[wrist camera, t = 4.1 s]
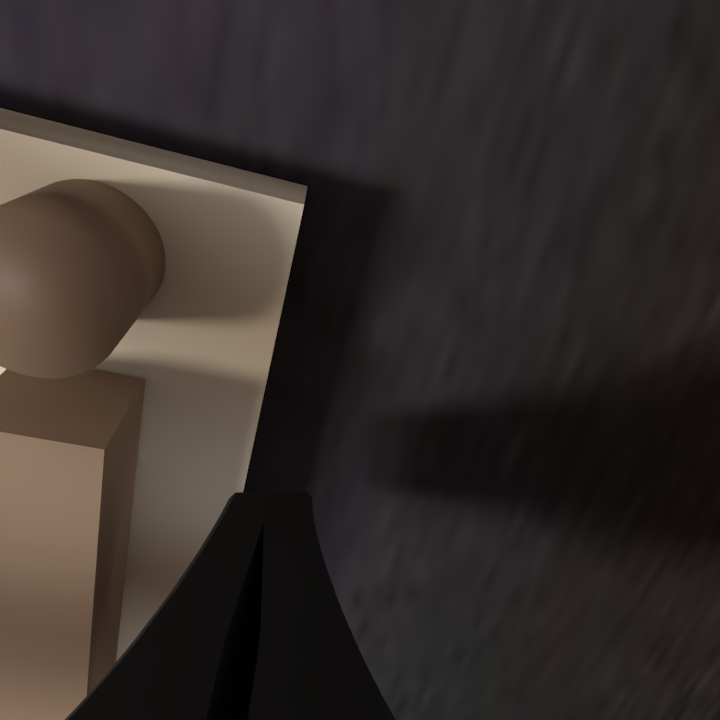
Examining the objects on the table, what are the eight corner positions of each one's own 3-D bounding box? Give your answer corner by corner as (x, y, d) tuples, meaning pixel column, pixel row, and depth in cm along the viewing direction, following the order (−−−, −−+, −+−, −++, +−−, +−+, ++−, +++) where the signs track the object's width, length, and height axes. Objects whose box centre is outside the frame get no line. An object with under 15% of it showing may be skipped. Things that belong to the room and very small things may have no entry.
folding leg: (113, 728, 14) (72, 853, 12) (18, 719, 14) (-42, 845, 12) (151, 380, 10) (98, 474, 7) (14, 354, 9) (-83, 443, 7)
